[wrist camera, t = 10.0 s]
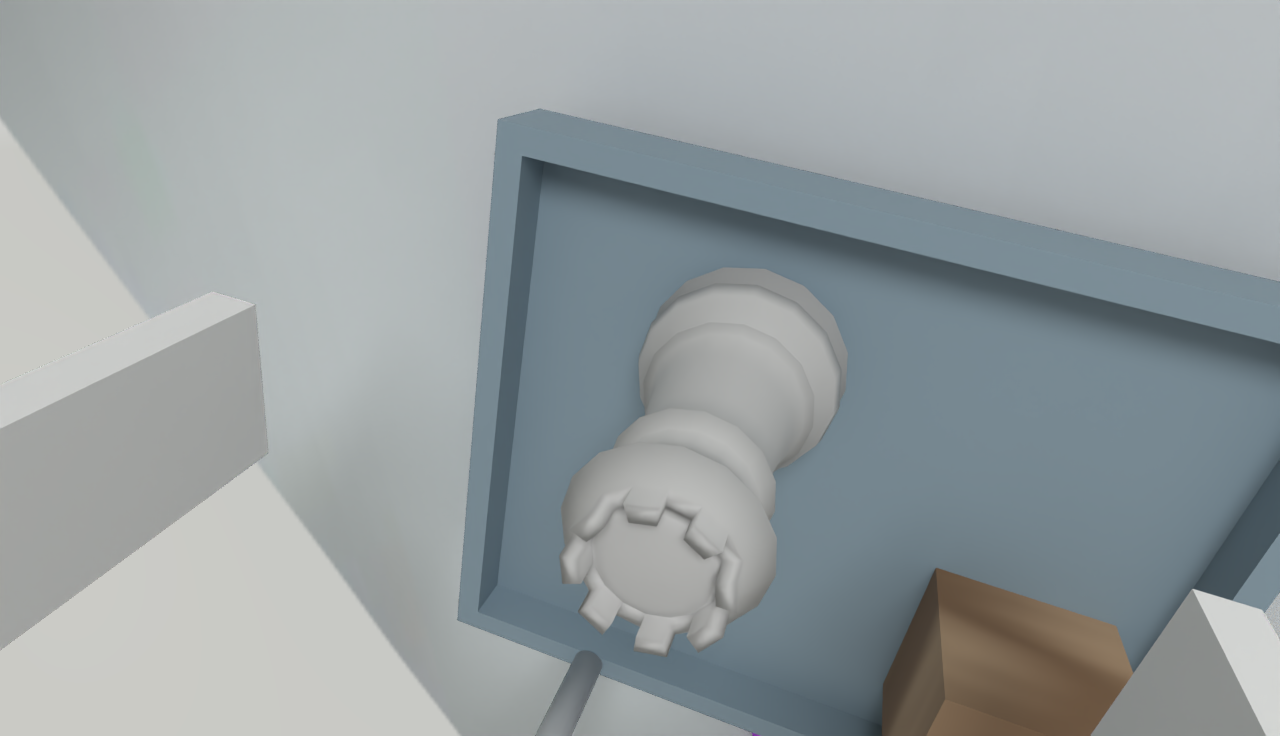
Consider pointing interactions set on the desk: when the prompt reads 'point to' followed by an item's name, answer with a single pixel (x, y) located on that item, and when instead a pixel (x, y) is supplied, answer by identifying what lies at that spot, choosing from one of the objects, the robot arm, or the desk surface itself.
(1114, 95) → the desk surface
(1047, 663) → the walnut block
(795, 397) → the rook chess piece
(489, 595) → the tray
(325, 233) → the desk surface
